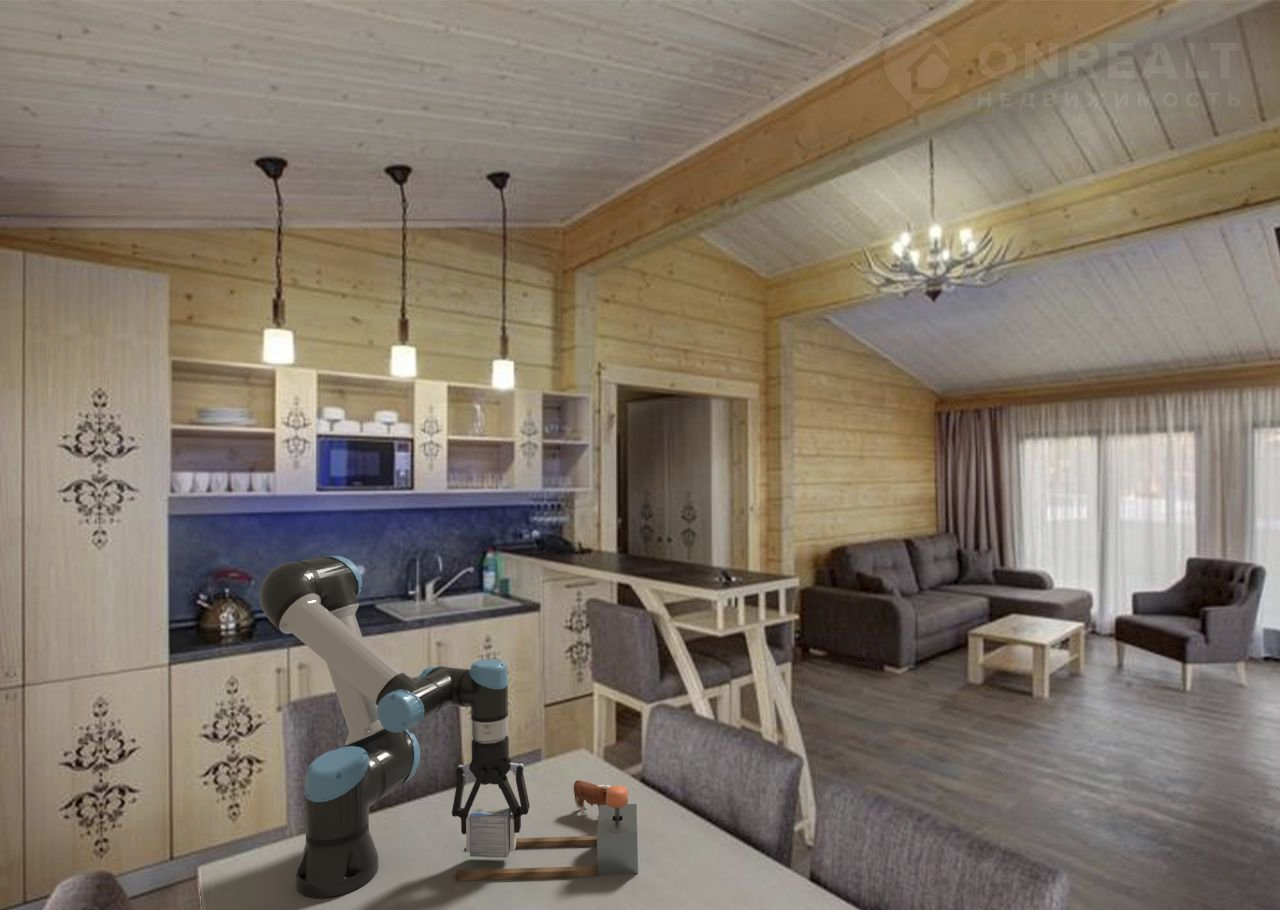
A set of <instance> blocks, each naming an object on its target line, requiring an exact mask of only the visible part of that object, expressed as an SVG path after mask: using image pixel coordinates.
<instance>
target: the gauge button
mask: <svg viewBox="0 0 1280 910" xmlns="http://www.w3.org/2000/svg"><path fill="white" fill-rule="evenodd" d="M628 794H629V793H628V787H626V786H624V785H612V786H611V787H609V788H608V789H607V790H606V801H607V805H608V806H610V807H613V808H615V821H620V807H623V806H625V805H627V804H629V802H628V801H629V799H628V798H629V797H628Z"/></svg>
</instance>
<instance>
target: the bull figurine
mask: <svg viewBox="0 0 1280 910" xmlns="http://www.w3.org/2000/svg"><path fill="white" fill-rule="evenodd" d="M609 787H612V786H611V785H610V784H596V783H592V782H589V781H585V780H580V779H577V780H576V781H574V784H573V795H574V803H575V805H576V808H577V809H580V814H581V815H582V817H584V818H585V817H587V816H588V814H587V812H586V810H588V809H587V807H586V804H585V802H586V803H587V804H588V805H590V806H591V807H593V806H596V805H597V807H598V809H599V805H607V801H606V790H607V789H608V788H609Z"/></svg>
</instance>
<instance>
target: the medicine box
mask: <svg viewBox="0 0 1280 910" xmlns="http://www.w3.org/2000/svg"><path fill="white" fill-rule="evenodd" d="M469 814H470V815H469V824H470V852H469V857H470V858H471V857H473V858H475V857H479V858H508V857H509V855H510V853H511V851H510V817H511V814H512V812H511V810H510V808H509V806H508V805H494V804H493V805H491V804H490V805H489V804H488V805H487V804H486V805H483V804H481V805H480V804H479V805H478V804H476V806H475V807H474V808H473V809H472V811H471V813H469Z"/></svg>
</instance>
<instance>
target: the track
mask: <svg viewBox="0 0 1280 910" xmlns="http://www.w3.org/2000/svg"><path fill="white" fill-rule="evenodd" d="M582 846H583V847H584V846H585V847H586V846H588V847H589V846H597V835H588V836H587V835H586V836H585V835H582V836H579V835H578V836H551V837H520V838H519V837H518V838H517V837H516V846H515V849H518V848H546V847H547V848H548V847H550V848H551V847H555V848H556V847H582ZM598 876H599V875H598V867H597V865H584V866H583V865H582V866H580V865H579V866H578V865H577V866H551V867H546V866H545V867H522V868H521V867H515V868H514V867H513V868H512V867H511V868H487V869H485V868H484V869H457V870H455V873H454V882H455V881H456V882H457V881H486V880H487V881H488V880H492V881H493V880H515V879H516V880H519V879H521V880H525V879H553V878H556V879H557V878H583V877H586V878H587V877H598Z"/></svg>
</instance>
